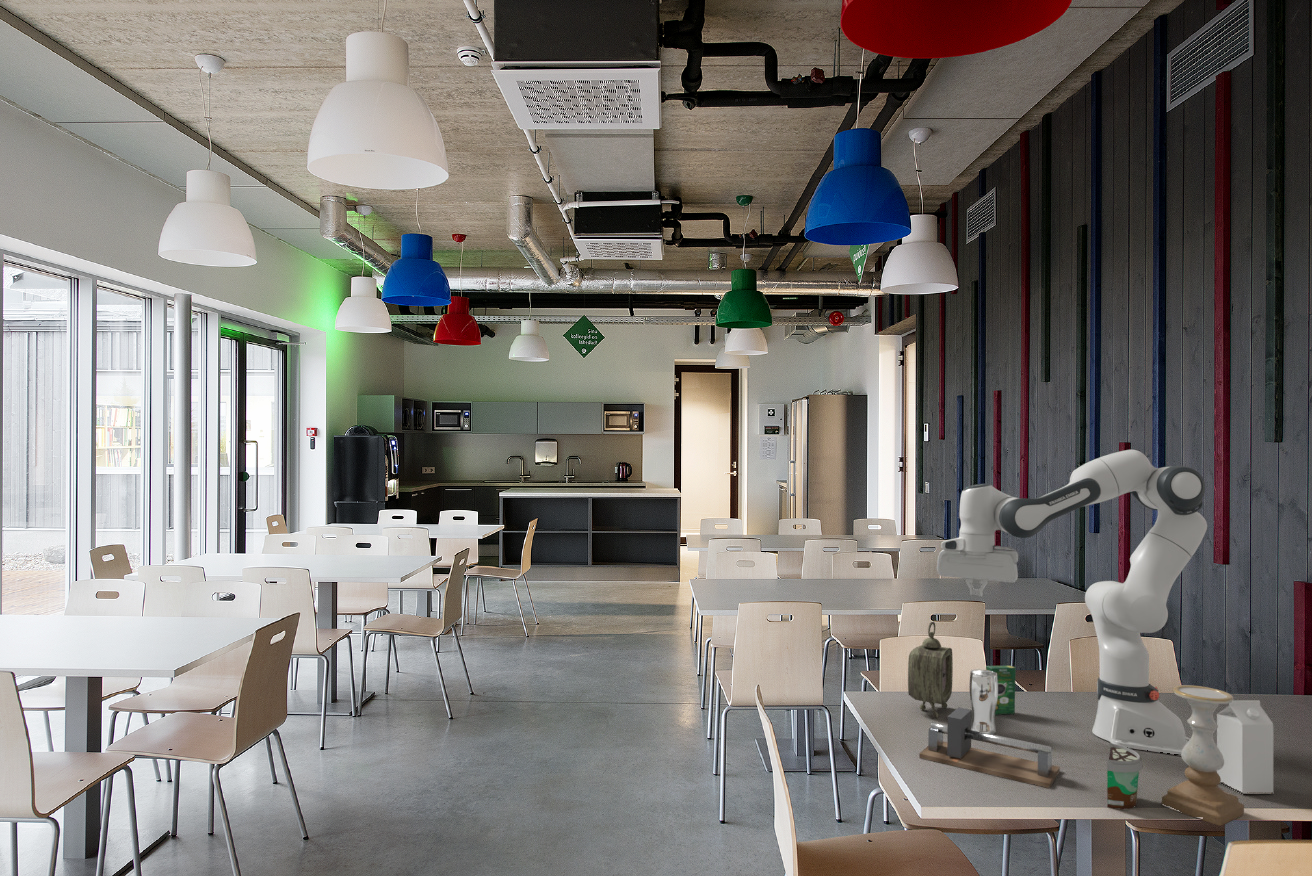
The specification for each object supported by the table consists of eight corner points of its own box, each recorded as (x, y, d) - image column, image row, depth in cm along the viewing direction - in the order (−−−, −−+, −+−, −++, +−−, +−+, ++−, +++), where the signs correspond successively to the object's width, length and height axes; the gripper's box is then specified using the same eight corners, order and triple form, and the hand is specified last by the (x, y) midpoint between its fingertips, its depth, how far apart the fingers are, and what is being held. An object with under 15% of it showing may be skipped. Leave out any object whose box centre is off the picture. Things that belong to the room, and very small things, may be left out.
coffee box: (1009, 711, 226) (1009, 664, 226) (1016, 714, 223) (1016, 666, 224) (984, 712, 224) (984, 665, 225) (990, 715, 222) (990, 668, 222)
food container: (1142, 817, 159) (1142, 767, 159) (1106, 810, 162) (1107, 760, 163) (1143, 796, 170) (1143, 748, 170) (1109, 789, 173) (1110, 742, 173)
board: (1059, 771, 182) (1059, 766, 182) (1049, 788, 173) (1049, 783, 173) (934, 743, 199) (935, 739, 199) (919, 757, 189) (919, 753, 189)
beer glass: (1000, 736, 205) (1000, 677, 205) (971, 733, 207) (972, 675, 207) (994, 727, 212) (995, 670, 212) (966, 725, 213) (967, 668, 214)
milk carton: (1216, 782, 178) (1216, 695, 178) (1246, 781, 178) (1246, 695, 179) (1242, 795, 171) (1242, 705, 171) (1273, 795, 171) (1273, 705, 172)
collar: (971, 747, 192) (971, 709, 193) (960, 758, 185) (960, 719, 185) (958, 744, 194) (958, 707, 194) (947, 755, 187) (947, 716, 187)
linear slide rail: (1051, 770, 180) (1052, 743, 180) (1047, 777, 176) (1047, 750, 176) (934, 744, 195) (934, 719, 196) (928, 750, 191) (928, 725, 192)
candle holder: (1186, 794, 171) (1186, 681, 171) (1245, 814, 162) (1245, 695, 162) (1160, 805, 165) (1160, 688, 165) (1220, 827, 156) (1220, 703, 156)
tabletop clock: (940, 721, 216) (941, 628, 216) (906, 715, 221) (907, 624, 221) (952, 707, 228) (953, 619, 229) (919, 702, 233) (920, 615, 233)
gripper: (1020, 546, 212) (1020, 599, 211) (942, 540, 224) (941, 590, 223) (1015, 548, 207) (1015, 602, 206) (935, 542, 219) (934, 593, 218)
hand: (976, 596), depth 215 cm, fingers closed
